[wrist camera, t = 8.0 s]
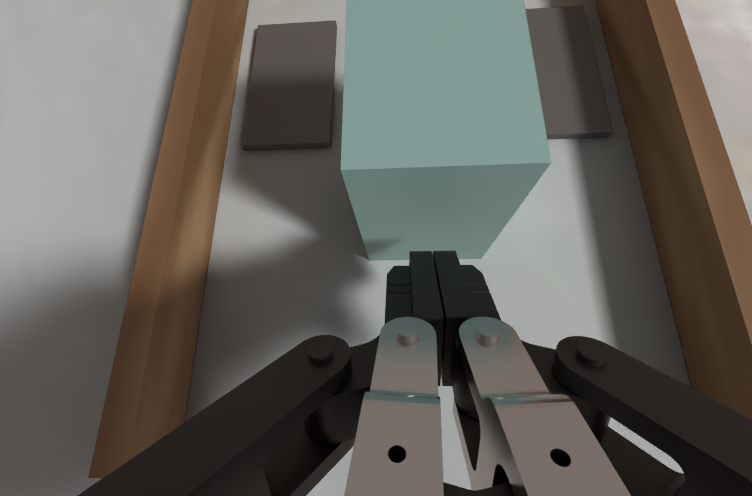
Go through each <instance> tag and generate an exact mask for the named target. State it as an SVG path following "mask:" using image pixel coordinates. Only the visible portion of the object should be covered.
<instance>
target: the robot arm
mask: <svg viewBox="0 0 752 496" xmlns="http://www.w3.org/2000/svg"><path fill="white" fill-rule="evenodd" d="M441 378H442V385H443V386H452V387H453V393H454V402H453V413H454V418H455V422H456V426H457V430H458V434H459V438H460V442H461V446H462V450H463V454H464V458H465V462H466V466H467V470H468V474H469V478H470V483H471V490H468V489H465V488H461V487H458V486H454V485H451V484H447V483H444V482H443V462H442V435H441V408H440V397H438V386H440V379H441ZM611 417H612V418H613V419H615V420H616V421H618V422H619V423H621V424H622V425H624V426H625V427H627V428H628V429H630V430H631V431H633V432H634V433H636V434H638V435H639V436H641V437H642V438H644V439H645V440H647V441H648V442H650V443H651V444H653V445H654V446H656V447H657V448H659V449H660V450H662V451H663V452H665V453H666V454H668V455H669V456H670V457H672V458H673V459H674V460H675V461H676V462H677V463H678V464H679V466H680V467H681V468H682V470H683V472H684V474H682V473H678V472H676V471H674V470H672V469H670V468H668V467H667V466H665V465H664V464H662V463H661V462H659V461H658V460H656V459H655V458H654V457H652V456H651V455H649V454H648V453H646V452H645V451H643V450H642V449H640V448H639V447H637V446H636V445H634V444H633V443H632V442H630V441H629V440H627V439H626V438H624V437H623V436H621V435H620V434H618V433H617V432H615V431H614V430H612V429H611V428H610V427H608V423H609V421H610V418H611ZM353 445H354V448H353V454H352V459H351V464H350V469H349V474H348V480H347V485H346V490H345V495H344V496H752V420H751V419H749V418H747V417H745V416H744V415H742V414H740V413H738V412H736V411H734V410H732V409H730V408H728V407H726V406H724V405H722V404H721V403H719V402H717V401H715V400H713V399H711V398H709V397H707V396H705V395H703V394H701V393H699V392H698V391H696V390H694V389H692V388H690V387H688V386H686V385H684V384H682V383H680V382H678V381H677V380H675V379H673V378H671V377H669V376H667V375H665V374H663V373H661V372H659V371H657V370H655V369H654V368H652V367H650V366H648V365H646V364H644V363H642V362H640V361H638V360H636V359H634V358H633V357H631V356H629V355H627V354H625V353H623V352H621V351H619V350H617V349H615V348H613V347H611V346H610V345H608V344H606V343H603V342H601V341H599V340H596V339H593V338H589V337H582V336H572V337H567V338H564V339H563V340H561V341H560V342H559V343H558V345H557V348H556V350H555V349H550V348H546V347H541V346H537V345H533V344H529V343H526V342H524V341H522V340H520V338H519V337H518V335H517V333H516V332H515V330H514V329H513V328H512V327H511V326H510V325H508V324H507V323H505V322H503V321H501V319H500V316H499V314H498V311H497V309H496V306H495V304H494V301H493V299H492V296H491V294H490V293H489V289H488V286H487V285H486V282H485V279H484V277H483V274H482V273H481V272H480V271H479V270H478V269H476V268H475V267H474V266H473V265H460V263H459V260H458V257H457V253H456V251H455V250H453V251H433V253H432V251H409V266H393V268H392V269H391V270H390V271H389V273H388V274H387V288H386V309H385V325H384V326H383V327H382V329H381V332H380V335H379V336H378V337H376V338H375V339H374V340H372V341H370V342H368V343H365V344H362V345H358V346H354V347H349V346H348V344H347V343H346V342H345V341H344V340H343V339H341V338H339V337H336V336H331V335H320V336H315V337H312V338H309V339H307V340H305V341H303V342H302V343H300V344H299V345H297V346H296V347H294V348H293V349H291V350H290V351H289V352H287V353H286V354H284V355H283V356H281V357H280V358H278V359H277V360H275V361H274V362H272V363H271V364H270V365H268V366H267V367H265V368H264V369H262V370H261V371H259V372H258V373H256V374H255V375H253V376H252V377H250V378H249V379H248V380H246V381H245V382H243V383H242V384H240V385H239V386H237V387H236V388H234V389H233V390H231V391H230V392H229V393H227V394H226V395H224V396H223V397H221V398H220V399H218V400H217V401H215V402H214V403H212V404H211V405H210V406H208V407H207V408H205V409H204V410H202V411H201V412H199V413H198V414H196V415H195V416H193V417H192V418H190V419H189V420H188V421H186V422H185V423H183V424H182V425H180V426H179V427H177V428H176V429H174V430H173V431H171V432H170V433H169V434H167V435H166V436H164V437H163V438H161V439H160V440H158V441H157V442H155V443H154V444H152V445H151V446H150V447H148V448H147V449H145V450H144V451H142V452H141V453H139V454H138V455H136V456H135V457H133V458H132V459H130V460H129V461H128V462H126V463H125V464H123V465H122V466H120V467H119V468H117V469H116V470H114V471H113V472H111V473H110V474H109V475H107V476H106V477H104V478H103V479H101V480H100V481H98V482H97V483H95V484H94V485H92V486H91V487H90V488H88V489H87V490H85V491H84V492H82V493H81V494H79V495H78V496H306V495H307V494H308V493H309V492H310V491H311V490H312V489H313V488H314V487H315V486H316V485H317V484H318V483H319V482H320V481H321V479H322V478H323V477H324V476H325V475H326V474H327V473H328V472H329V471H330V470H331V469H332V468H333V467H334V466H335V465H336V464H337V463H338V462H339V461H340V460H341V459H342V457H343V456H344V455H345V454H346V453H347V452H348V451H349V450H350V449H351V448H352V447H353Z"/></svg>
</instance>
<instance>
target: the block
mask: <svg viewBox="0 0 752 496" xmlns="http://www.w3.org/2000/svg"><path fill="white" fill-rule="evenodd" d="M550 163H551V159H550V153H549V147H548V141H547V135H546V129H545V123H544V117H543V112H542V106H541V100H540V94H539V88H538V82H537V76H536V70H535V64H534V58H533V52H532V47H531V41H530V35H529V29H528V23H527V17H526V11H525V5H524V0H347V7H346V34H345V62H344V89H343V116H342V144H341V173H342V176H343V179H344V182H345V186H346V189H347V192H348V195H349V198H350V201H351V205H352V208H353V211H354V214H355V217H356V220H357V223H358V227H359V230H360V233H361V236H362V239H363V242H364V246H365V249H366V252H367V255H368V258H369V260H409V251H432V253H433V251H453V250H455V251H456V253H457V257H458V259H481V258H482V257H483V256H484V254H485V253H486V251H487V250H488V249H489V247H490V246H491V245H492V243H493V242H494V240H495V239H496V238H497V236H498V235H499V234H500V232H501V231H502V229H503V228H504V227H505V225H506V224H507V223H508V221H509V220H510V218H511V217H512V216H513V214H514V213H515V212H516V210H517V209H518V207H519V206H520V205H521V203H522V202H523V201H524V199H525V198H526V196H527V195H528V194H529V192H530V191H531V190H532V188H533V187H534V185H535V184H536V183H537V181H538V180H539V179H540V177H541V176H542V174H543V173H544V172H545V170H546V169H547V168H548V166H549V165H550Z"/></svg>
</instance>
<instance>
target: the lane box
mask: <svg viewBox="0 0 752 496" xmlns="http://www.w3.org/2000/svg"><path fill="white" fill-rule="evenodd" d="M248 2H249V0H193V1H192V5H191V10H190V15H189V19H188V24H187V28H186V33H185V38H184V42H183V47H182V51H181V56H180V60H179V65H178V70H177V74H176V79H175V83H174V88H173V93H172V97H171V102H170V106H169V111H168V116H167V120H166V125H165V129H164V134H163V138H162V143H161V148H160V152H159V157H158V161H157V166H156V171H155V175H154V180H153V184H152V189H151V194H150V198H149V203H148V207H147V212H146V216H145V221H144V226H143V230H142V235H141V239H140V244H139V249H138V253H137V258H136V262H135V267H134V272H133V276H132V281H131V285H130V290H129V294H128V299H127V304H126V308H125V313H124V317H123V322H122V327H121V331H120V336H119V340H118V345H117V350H116V354H115V359H114V363H113V368H112V373H111V377H110V382H109V386H108V391H107V395H106V400H105V405H104V409H103V414H102V418H101V423H100V428H99V432H98V437H97V441H96V446H95V451H94V455H93V460H92V464H91V469H90V473H89V478H104V477H106V476H107V475H109V474H110V473H111V472H113V471H114V470H116V469H117V468H119V467H120V466H122V465H123V464H125V463H126V462H128V461H129V460H130V459H132V458H133V457H135V456H136V455H138V454H139V453H141V452H142V451H144V450H145V449H147V448H148V447H150V446H151V445H152V444H154V443H155V442H157V441H158V440H160V439H161V438H163V437H164V436H166V435H167V434H169V433H170V432H171V431H173V430H174V429H176V428H177V427H179V426H180V425H182V424H183V423H184V421H185V414H186V408H187V401H188V395H189V388H190V382H191V375H192V369H193V362H194V356H195V349H196V342H197V336H198V329H199V323H200V316H201V310H202V303H203V297H204V290H205V284H206V277H207V270H208V264H209V257H210V251H211V244H212V238H213V231H214V225H215V218H216V212H217V205H218V199H219V192H220V185H221V179H222V172H223V166H224V159H225V153H226V146H227V140H228V133H229V127H230V120H231V113H232V107H233V100H234V94H235V87H236V81H237V74H238V68H239V61H240V55H241V48H242V42H243V35H244V28H245V22H246V15H247V9H248ZM596 4H597V8H598V12H599V16H600V20H601V24H602V28H603V32H604V36H605V40H606V44H607V48H608V52H609V56H610V60H611V64H612V68H613V72H614V76H615V80H616V84H617V88H618V92H619V96H620V100H621V104H622V108H623V112H624V116H625V120H626V124H627V128H628V132H629V136H630V140H631V144H632V148H633V152H634V156H635V160H636V164H637V168H638V172H639V176H640V181H641V185H642V189H643V193H644V197H645V201H646V205H647V209H648V213H649V217H650V221H651V225H652V229H653V233H654V237H655V241H656V245H657V249H658V253H659V257H660V261H661V265H662V269H663V273H664V277H665V281H666V285H667V289H668V293H669V297H670V301H671V305H672V309H673V313H674V317H675V321H676V325H677V329H678V333H679V337H680V341H681V345H682V349H683V353H684V357H685V361H686V365H687V369H688V373H689V377H690V381H691V385H692V389H694V390H696V391H698V392H699V393H701V394H703V395H705V396H707V397H709V398H711V399H713V400H715V401H717V402H719V403H721V404H722V405H724V406H726V407H728V408H730V409H732V410H734V411H736V412H738V413H740V414H742V415H744V416H745V417H747V418H749V419H751V420H752V225H751V222H750V219H749V216H748V213H747V210H746V207H745V204H744V201H743V198H742V196H741V193H740V190H739V187H738V184H737V181H736V178H735V175H734V172H733V169H732V166H731V163H730V160H729V157H728V154H727V152H726V149H725V146H724V143H723V140H722V137H721V134H720V131H719V128H718V125H717V122H716V119H715V116H714V113H713V110H712V107H711V105H710V102H709V99H708V96H707V93H706V90H705V87H704V84H703V81H702V78H701V75H700V72H699V69H698V66H697V63H696V61H695V58H694V55H693V52H692V49H691V46H690V43H689V40H688V37H687V34H686V31H685V28H684V25H683V22H682V19H681V16H680V14H679V11H678V8H677V5H676V2H675V0H596Z"/></svg>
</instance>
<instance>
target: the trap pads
mask: <svg viewBox="0 0 752 496" xmlns="http://www.w3.org/2000/svg"><path fill="white" fill-rule="evenodd" d="M525 11H526V17H527V23H528V29H529V35H530V41H531V47H532V52H533V58H534V64H535V70H536V76H537V82H538V88H539V94H540V100H541V106H542V112H543V117H544V123H545V129H546V135H547V139H563V138H590V137H608V136H609V135H610V134H611V133H612V128H611V124H610V120H609V115H608V111H607V107H606V102H605V98H604V94H603V89H602V85H601V81H600V77H599V72H598V68H597V64H596V59H595V55H594V51H593V46H592V42H591V38H590V34H589V29H588V25H587V21H586V16H585V12H584V8H583V6H570V7H553V8H537V9H525ZM336 34H337V25H336V21H321V22H304V23H288V24H271V25H258V29H257V36H256V43H255V50H254V58H253V65H252V72H251V79H250V87H249V94H248V101H247V108H246V115H245V123H244V130H243V137H242V144H241V146H242V147H243V149H244V150H263V149H290V148H317V147H331V135H332V115H333V95H334V75H335V54H336Z"/></svg>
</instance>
